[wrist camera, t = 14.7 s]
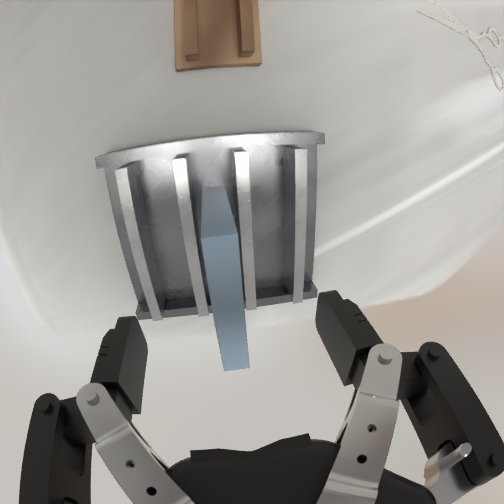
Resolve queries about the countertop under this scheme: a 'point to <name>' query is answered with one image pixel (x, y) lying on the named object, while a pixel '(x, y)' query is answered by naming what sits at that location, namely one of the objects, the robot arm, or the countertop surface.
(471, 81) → the countertop surface
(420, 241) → the countertop surface
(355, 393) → the robot arm
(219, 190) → the plate
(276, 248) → the dish rack
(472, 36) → the scissors
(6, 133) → the countertop surface
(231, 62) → the plate stand
